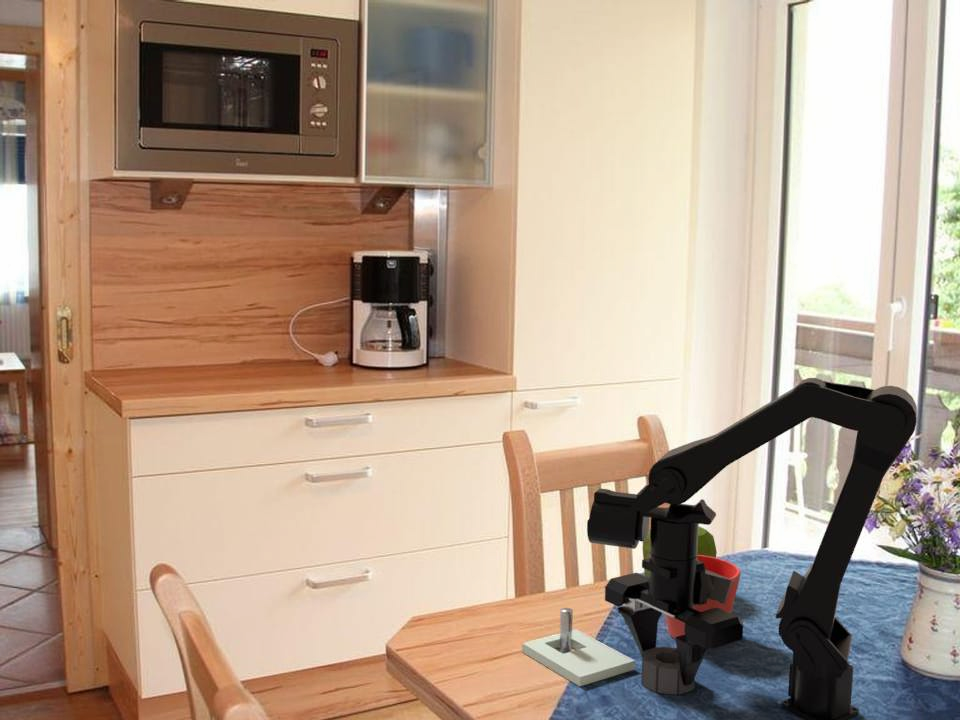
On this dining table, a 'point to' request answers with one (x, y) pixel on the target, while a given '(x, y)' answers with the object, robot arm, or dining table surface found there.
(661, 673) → the grey octagonal ring
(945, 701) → the dining table surface
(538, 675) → the dining table surface
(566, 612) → the grey metallic cylinder
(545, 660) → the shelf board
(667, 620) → the flower pot
